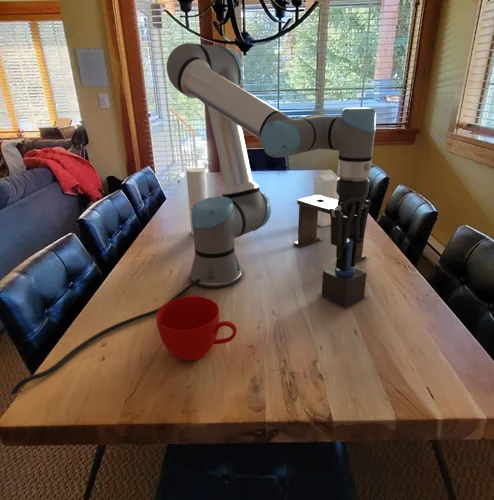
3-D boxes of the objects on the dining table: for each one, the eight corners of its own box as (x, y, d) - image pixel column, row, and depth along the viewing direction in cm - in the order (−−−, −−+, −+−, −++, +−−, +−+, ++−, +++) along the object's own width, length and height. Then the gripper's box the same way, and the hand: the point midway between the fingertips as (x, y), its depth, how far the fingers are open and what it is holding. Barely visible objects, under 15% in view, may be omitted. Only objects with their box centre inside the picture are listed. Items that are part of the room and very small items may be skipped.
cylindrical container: (206, 237, 143) (202, 172, 133) (188, 236, 145) (183, 171, 135) (212, 230, 150) (208, 168, 140) (195, 229, 151) (190, 167, 141)
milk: (332, 224, 155) (337, 171, 146) (322, 227, 152) (325, 172, 143) (322, 220, 159) (326, 168, 151) (312, 222, 156) (315, 170, 148)
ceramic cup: (227, 380, 73) (224, 338, 69) (149, 365, 77) (143, 324, 73) (246, 340, 84) (245, 302, 80) (178, 329, 89) (173, 292, 85)
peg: (343, 301, 98) (349, 245, 91) (329, 294, 101) (333, 239, 95) (356, 295, 101) (362, 240, 94) (341, 288, 104) (346, 235, 98)
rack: (345, 267, 118) (350, 215, 111) (294, 244, 135) (295, 199, 128) (365, 258, 123) (371, 209, 116) (313, 238, 140) (315, 194, 134)
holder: (344, 307, 96) (346, 282, 93) (321, 295, 102) (322, 271, 99) (363, 297, 100) (366, 272, 97) (340, 286, 106) (342, 262, 103)
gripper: (343, 185, 81) (336, 281, 90) (387, 175, 90) (375, 263, 99) (318, 180, 87) (313, 270, 96) (361, 170, 95) (353, 254, 105)
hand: (345, 266), depth 98 cm, fingers closed on peg, 3 cm apart
